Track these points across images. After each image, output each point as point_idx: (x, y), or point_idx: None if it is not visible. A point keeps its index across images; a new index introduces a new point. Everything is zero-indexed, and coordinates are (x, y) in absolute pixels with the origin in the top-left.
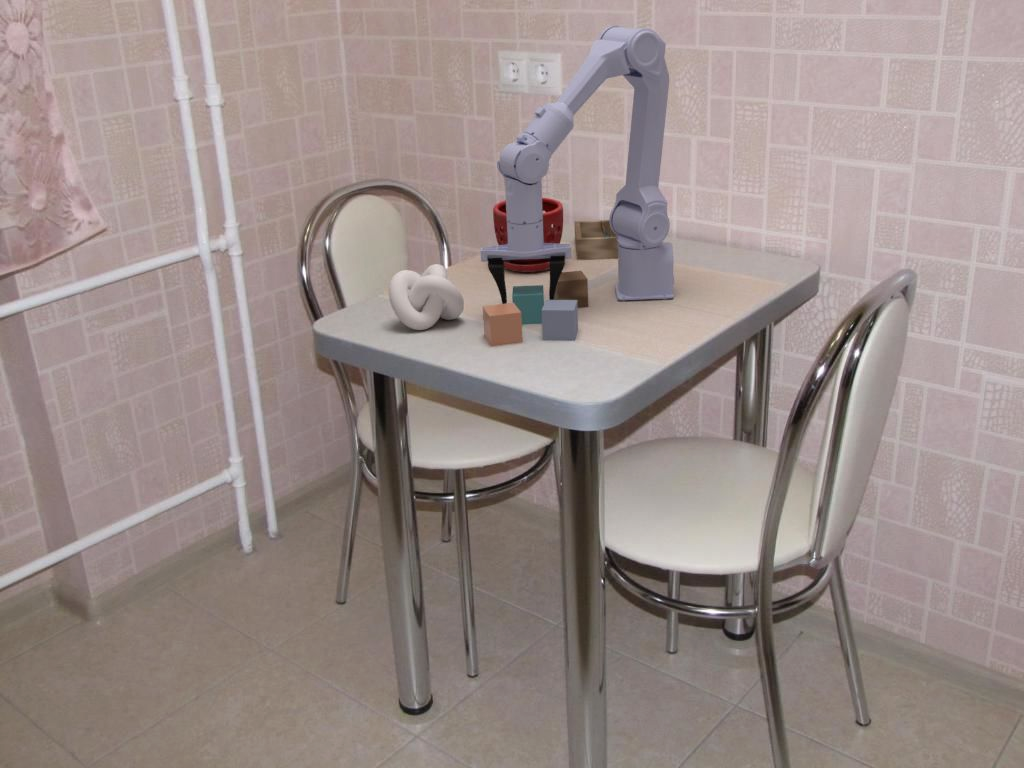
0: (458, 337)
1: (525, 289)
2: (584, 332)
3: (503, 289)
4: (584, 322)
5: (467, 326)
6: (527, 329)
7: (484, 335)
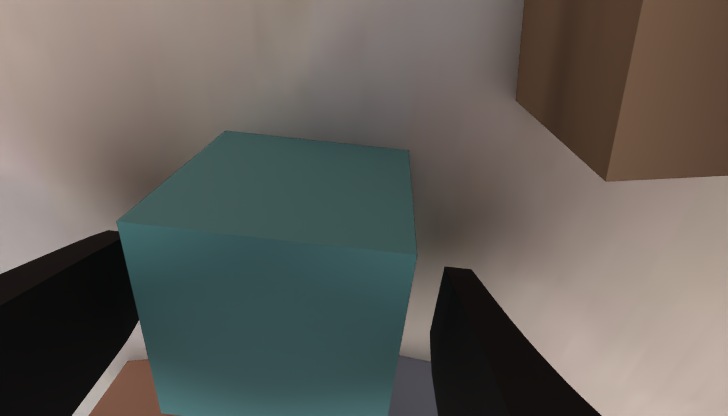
0: None
1: (247, 322)
2: None
3: (62, 411)
4: (582, 321)
5: (13, 252)
6: None
7: (127, 366)
